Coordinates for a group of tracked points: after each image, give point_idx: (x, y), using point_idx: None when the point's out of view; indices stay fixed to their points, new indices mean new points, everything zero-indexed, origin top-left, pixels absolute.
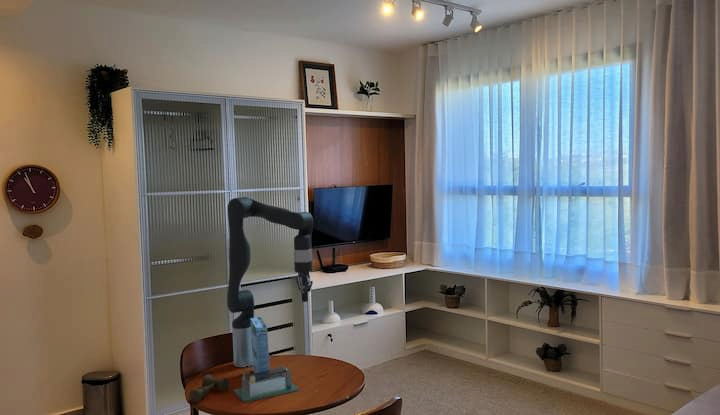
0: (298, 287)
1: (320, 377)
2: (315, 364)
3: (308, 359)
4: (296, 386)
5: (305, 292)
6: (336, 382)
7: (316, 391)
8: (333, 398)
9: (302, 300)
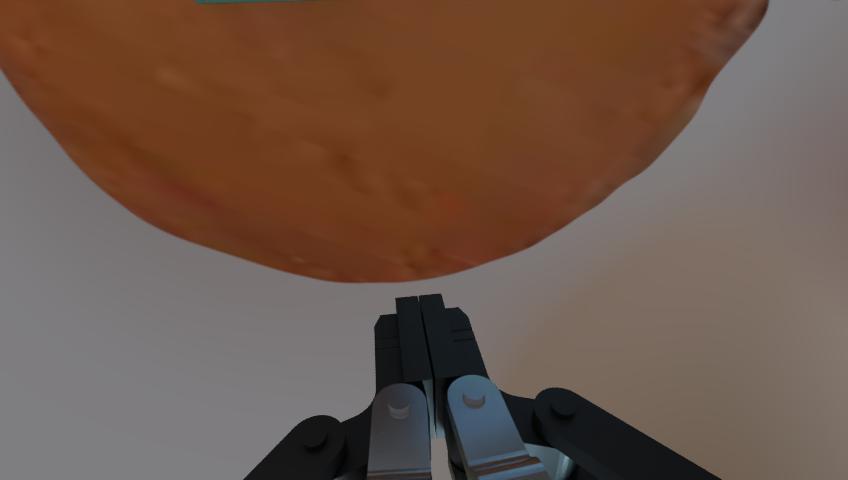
0: (609, 425)
1: (328, 151)
2: (489, 188)
3: (562, 185)
4: (227, 2)
5: (359, 425)
6: (241, 184)
7: (159, 73)
8: (47, 106)
9: (416, 301)
